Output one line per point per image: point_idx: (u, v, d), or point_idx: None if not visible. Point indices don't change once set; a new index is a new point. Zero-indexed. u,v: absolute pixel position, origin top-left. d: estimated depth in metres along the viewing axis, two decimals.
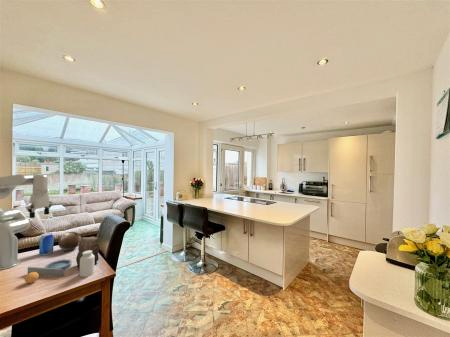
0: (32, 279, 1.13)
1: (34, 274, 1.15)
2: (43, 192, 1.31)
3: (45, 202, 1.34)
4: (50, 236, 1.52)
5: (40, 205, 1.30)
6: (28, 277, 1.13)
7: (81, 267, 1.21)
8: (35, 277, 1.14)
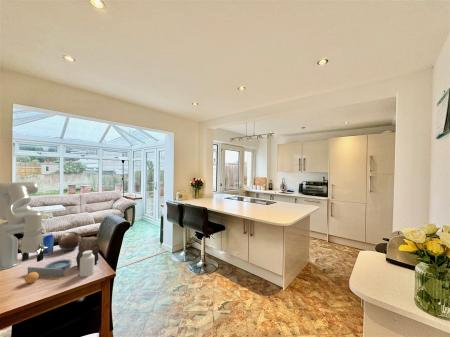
0: (32, 279, 1.13)
1: (34, 274, 1.15)
2: None
3: None
4: (50, 236, 1.52)
5: None
6: (28, 277, 1.13)
7: (81, 267, 1.21)
8: (35, 277, 1.14)
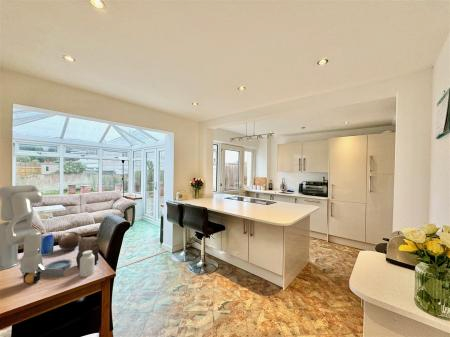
0: (32, 279, 1.13)
1: None
2: None
3: None
4: (50, 236, 1.52)
5: None
6: (28, 277, 1.12)
7: (81, 267, 1.21)
8: None
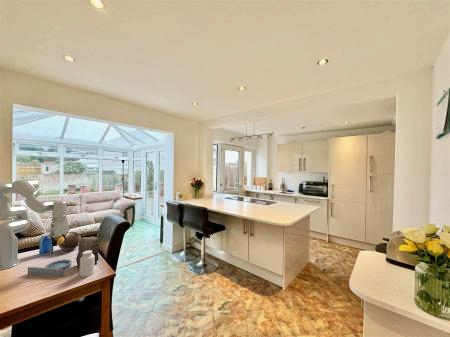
0: None
1: None
2: None
3: None
4: None
5: None
6: (63, 238, 1.32)
7: (81, 267, 1.21)
8: None
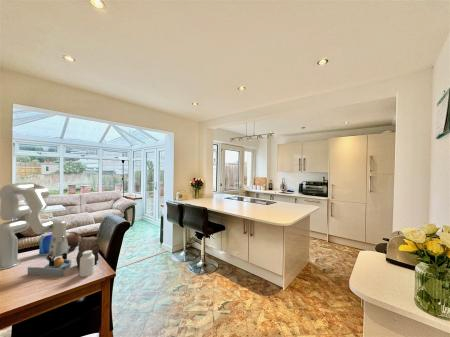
0: None
1: None
2: None
3: None
4: (50, 236, 1.52)
5: None
6: (62, 259, 1.32)
7: (81, 267, 1.21)
8: None
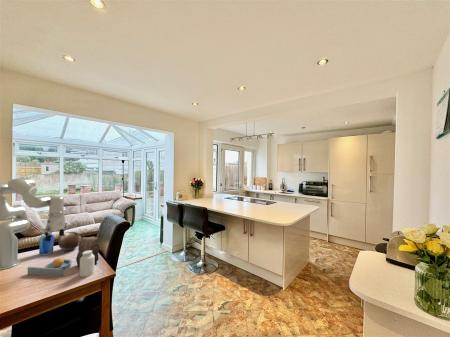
0: None
1: None
2: None
3: None
4: None
5: None
6: (62, 259, 1.33)
7: (81, 267, 1.21)
8: None
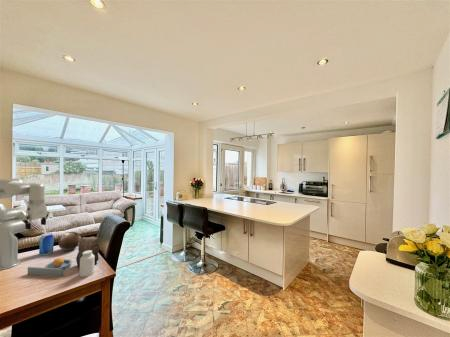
0: None
1: None
2: None
3: None
4: (50, 236, 1.52)
5: None
6: (62, 259, 1.33)
7: (81, 267, 1.21)
8: None
